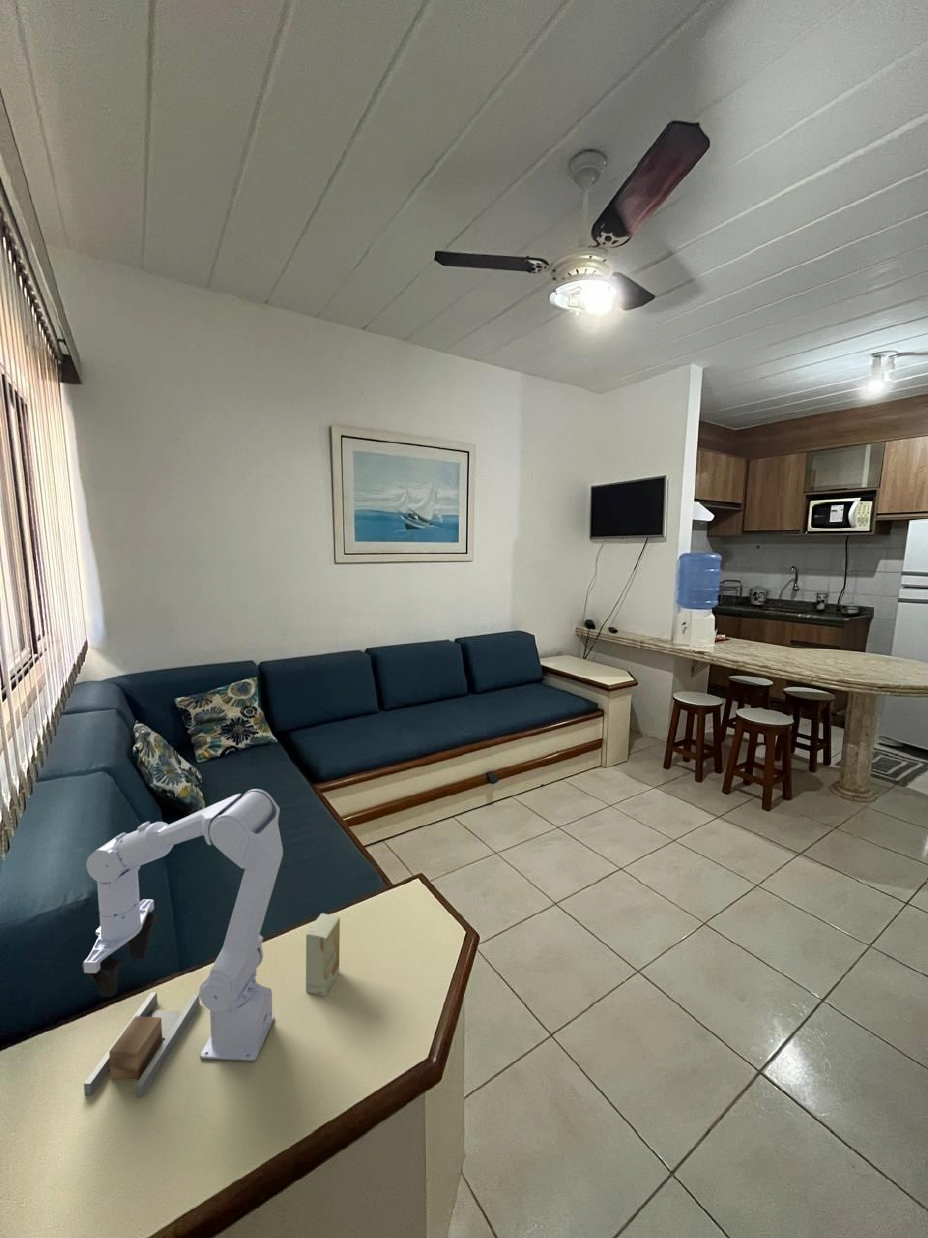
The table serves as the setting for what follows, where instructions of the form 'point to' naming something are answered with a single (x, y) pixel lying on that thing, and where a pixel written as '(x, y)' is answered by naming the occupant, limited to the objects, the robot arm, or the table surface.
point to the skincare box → (322, 954)
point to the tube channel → (170, 1033)
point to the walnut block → (135, 1048)
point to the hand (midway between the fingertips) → (124, 975)
